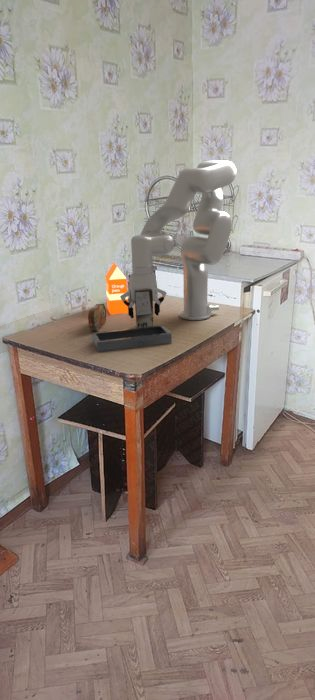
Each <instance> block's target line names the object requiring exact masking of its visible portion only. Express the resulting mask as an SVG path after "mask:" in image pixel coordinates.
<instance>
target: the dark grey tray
mask: <svg viewBox="0 0 315 700" xmlns="http://www.w3.org/2000/svg"><path fill="white" fill-rule="evenodd" d="M91 339H92V341H91V342H92V345H93V346H94V348H95V350H96V351H97V353H104V352H110V351H119V350H128V349H136V348H143V347H152V346H159V345H167V344H172V342H173V341H172V333H171V332H170V331H169V329H167V328H166V327H165V326H164V325H163V324H161V325H160V324H158V325H153V326H149V327H141V328H136V327H134V328H125V329H116V330H108V331H96V332H92V333H91Z"/></svg>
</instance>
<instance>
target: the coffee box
mask: <svg viewBox="0 0 315 700" xmlns="http://www.w3.org/2000/svg"><path fill="white" fill-rule="evenodd" d="M135 300H136V302H135V303H134V308H135V310H134V311H135V325H136V326H135V328H141V327H149V326H154V301H153V291H152V290H140V291H135Z"/></svg>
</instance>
